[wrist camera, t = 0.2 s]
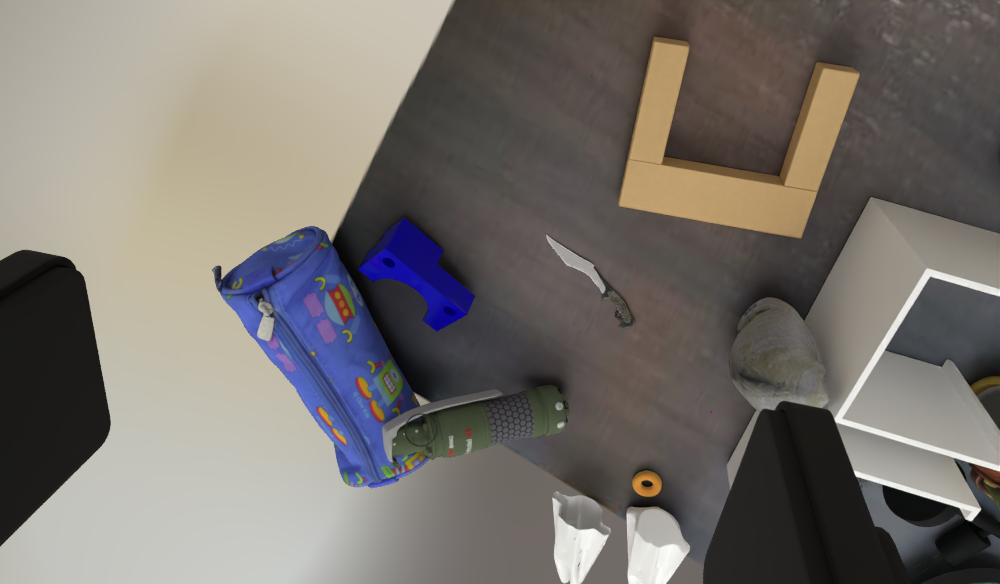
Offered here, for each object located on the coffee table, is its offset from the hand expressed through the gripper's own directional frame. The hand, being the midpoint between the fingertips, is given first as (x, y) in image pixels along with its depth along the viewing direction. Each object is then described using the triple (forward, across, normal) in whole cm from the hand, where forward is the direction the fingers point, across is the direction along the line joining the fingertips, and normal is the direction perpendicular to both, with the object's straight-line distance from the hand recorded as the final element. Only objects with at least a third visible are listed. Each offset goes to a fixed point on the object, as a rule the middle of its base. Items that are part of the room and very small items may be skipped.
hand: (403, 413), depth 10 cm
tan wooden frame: (+42, -10, +7) cm, 43 cm away
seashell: (+37, -19, +19) cm, 46 cm away
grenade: (+41, -4, +30) cm, 50 cm away
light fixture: (+40, -30, +40) cm, 64 cm away
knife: (+42, -3, +22) cm, 47 cm away
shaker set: (+40, -10, +39) cm, 56 cm away
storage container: (+42, -24, +22) cm, 53 cm away
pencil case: (+42, +16, +28) cm, 53 cm away
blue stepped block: (+40, +8, +19) cm, 44 cm away
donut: (+41, -13, +33) cm, 54 cm away
